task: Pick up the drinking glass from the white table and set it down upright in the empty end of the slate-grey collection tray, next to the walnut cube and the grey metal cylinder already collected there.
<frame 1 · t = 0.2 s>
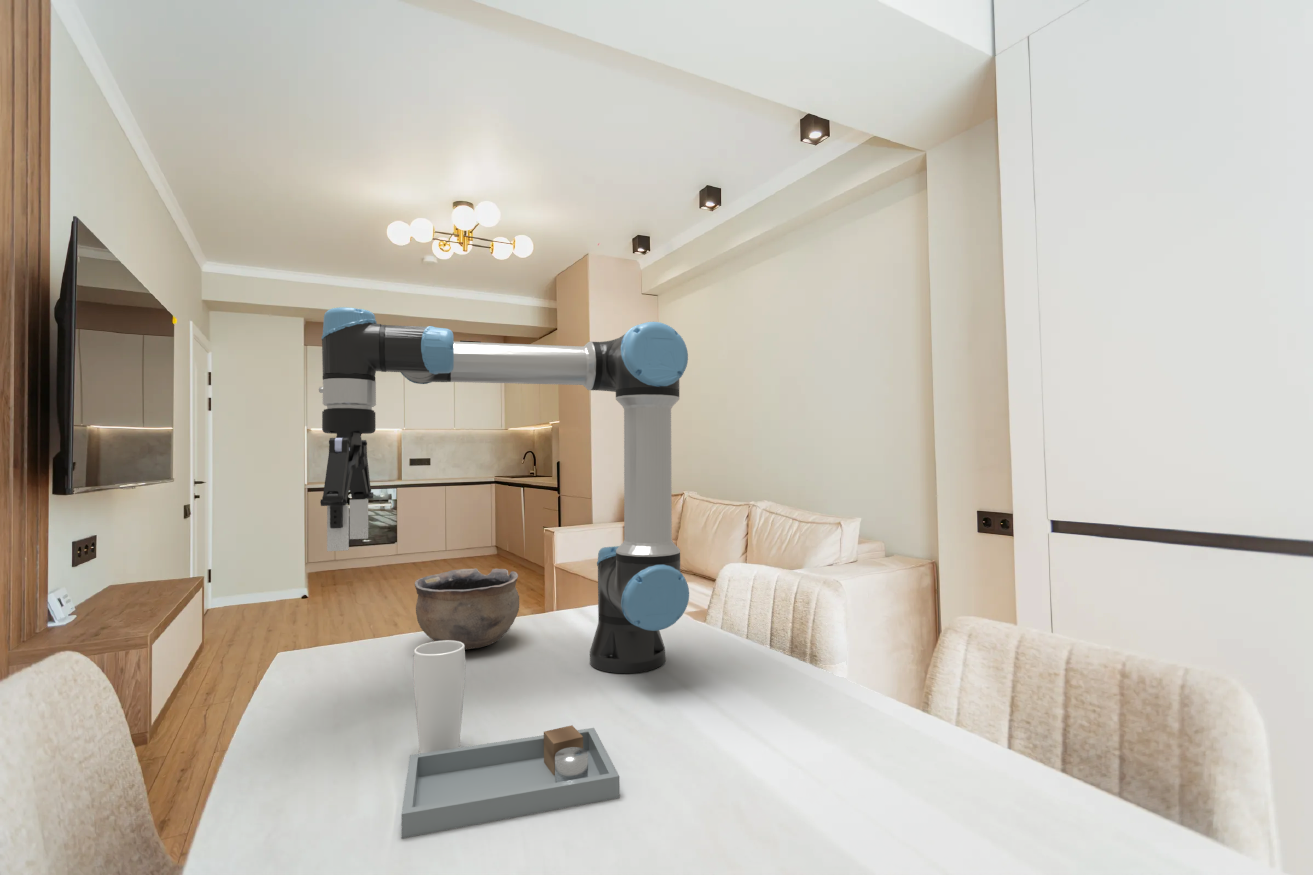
hand: (349, 544, 98), 28 cm above the table, fingers open, 13 cm apart
metal cylinder: (571, 787, 76), point 1 cm above the table, touching collection tray
collection tray: (510, 790, 77), on the table
drinking glass: (439, 758, 86), on the table
walnut cube: (563, 764, 82), point 1 cm above the table, touching collection tray
ceramic bowl: (468, 646, 137), on the table
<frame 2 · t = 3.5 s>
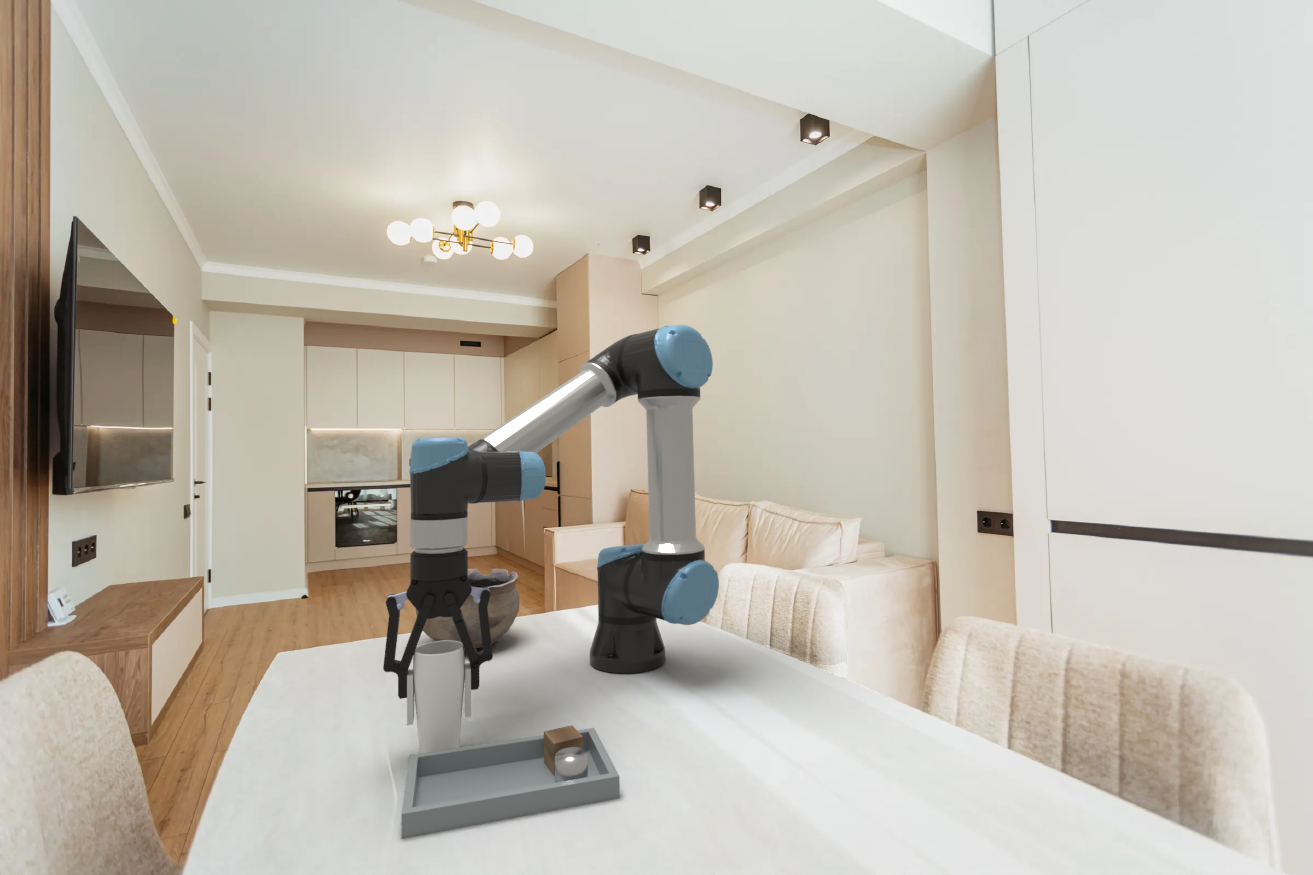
hand: (439, 716, 86), 6 cm above the table, fingers closed on drinking glass, 7 cm apart
drinking glass: (439, 758, 86), on the table, touching gripper
everything else where it was.
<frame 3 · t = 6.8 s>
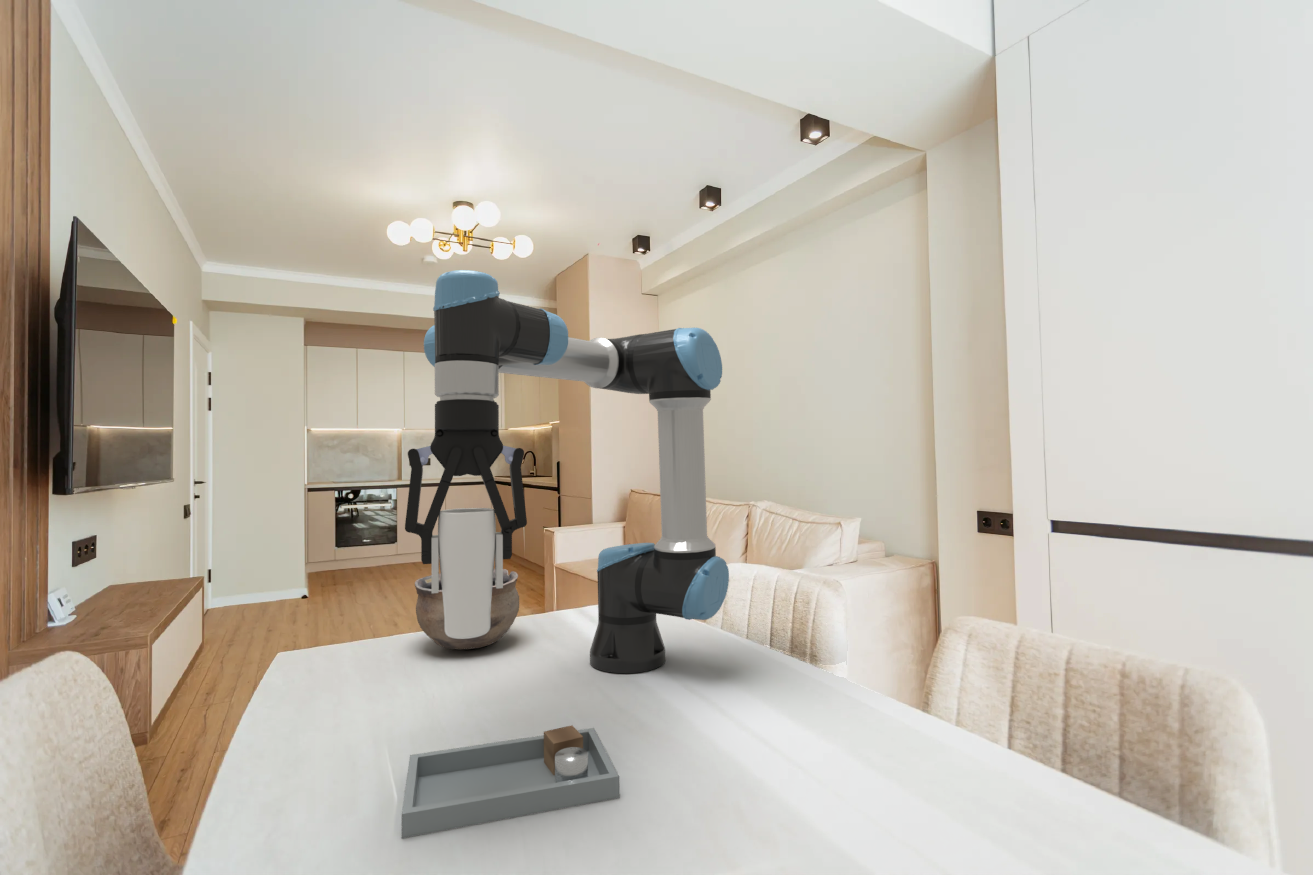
hand: (467, 588, 76), 25 cm above the table, fingers closed on drinking glass, 7 cm apart
drinking glass: (467, 635, 76), point 19 cm above the table, touching gripper
everything else where it was.
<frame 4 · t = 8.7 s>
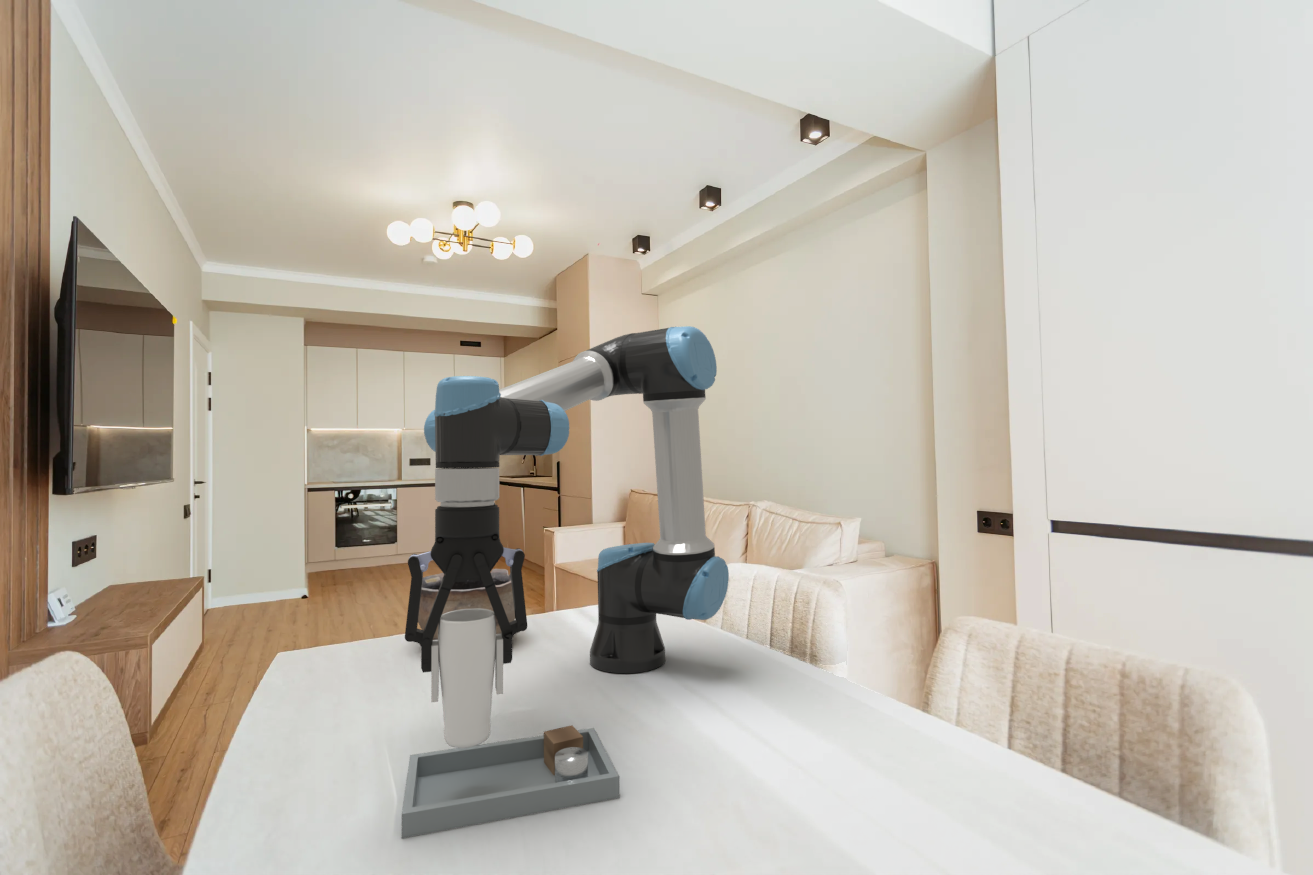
hand: (467, 693, 76), 12 cm above the table, fingers closed on drinking glass, 7 cm apart
drinking glass: (467, 741, 76), point 7 cm above the table, touching gripper
everything else where it was.
when the fingers open (7 cm above the table, at t = 10.3 s): drinking glass stays where it is, resting on collection tray.
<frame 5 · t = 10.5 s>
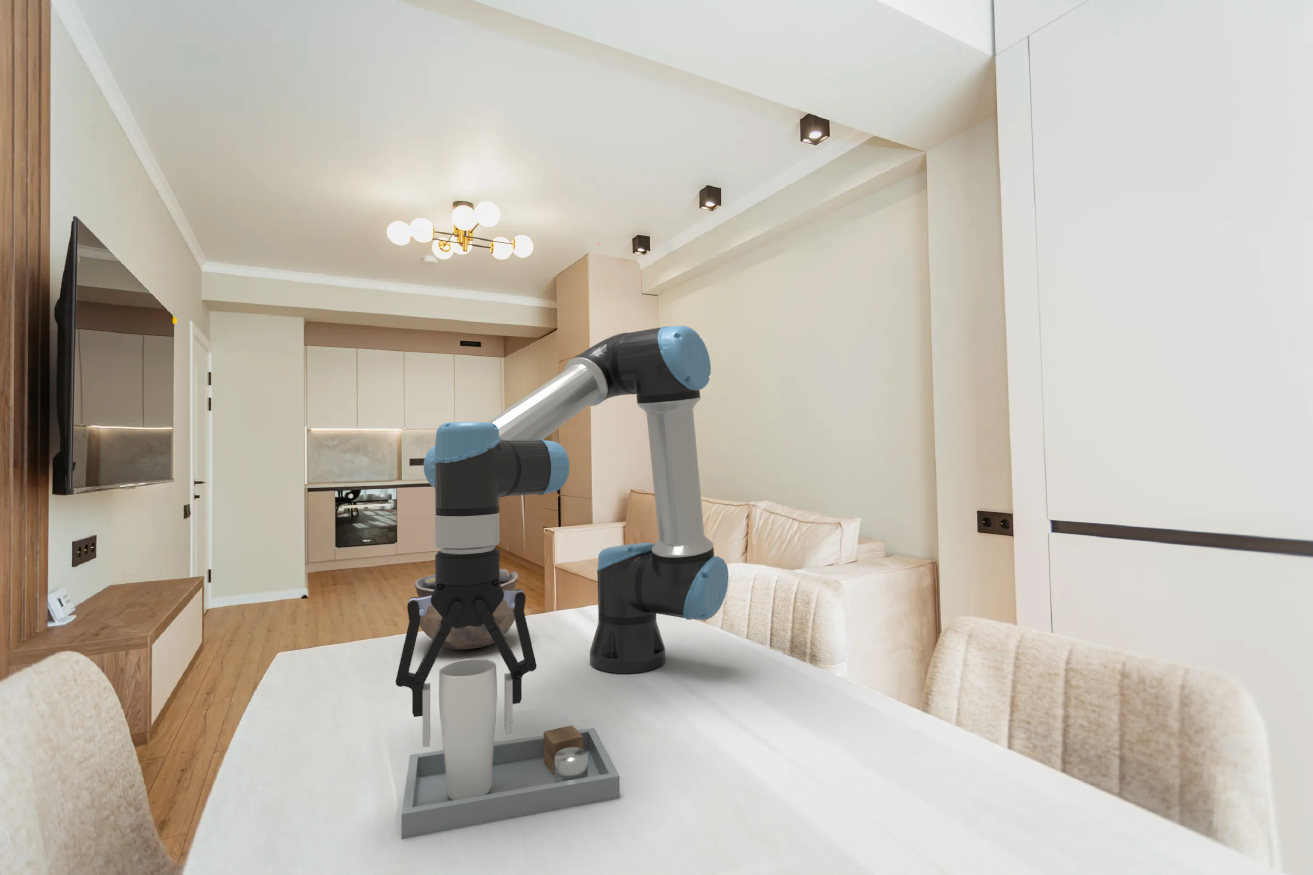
hand: (468, 735, 76), 7 cm above the table, fingers open, 9 cm apart
drinking glass: (469, 793, 76), resting on collection tray
everything else where it was.
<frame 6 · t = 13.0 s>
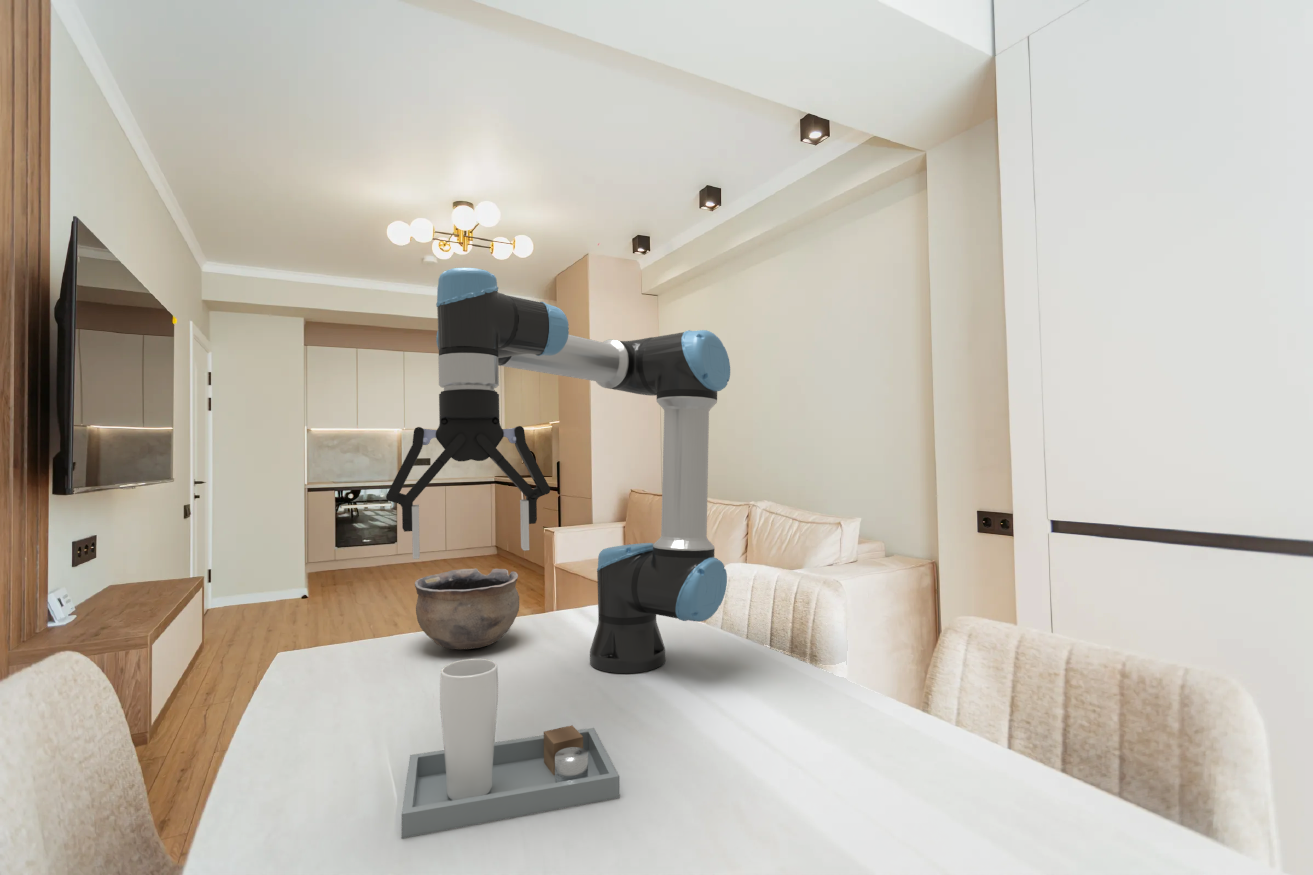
hand: (472, 553, 81), 29 cm above the table, fingers open, 13 cm apart
nothing on the table moved.
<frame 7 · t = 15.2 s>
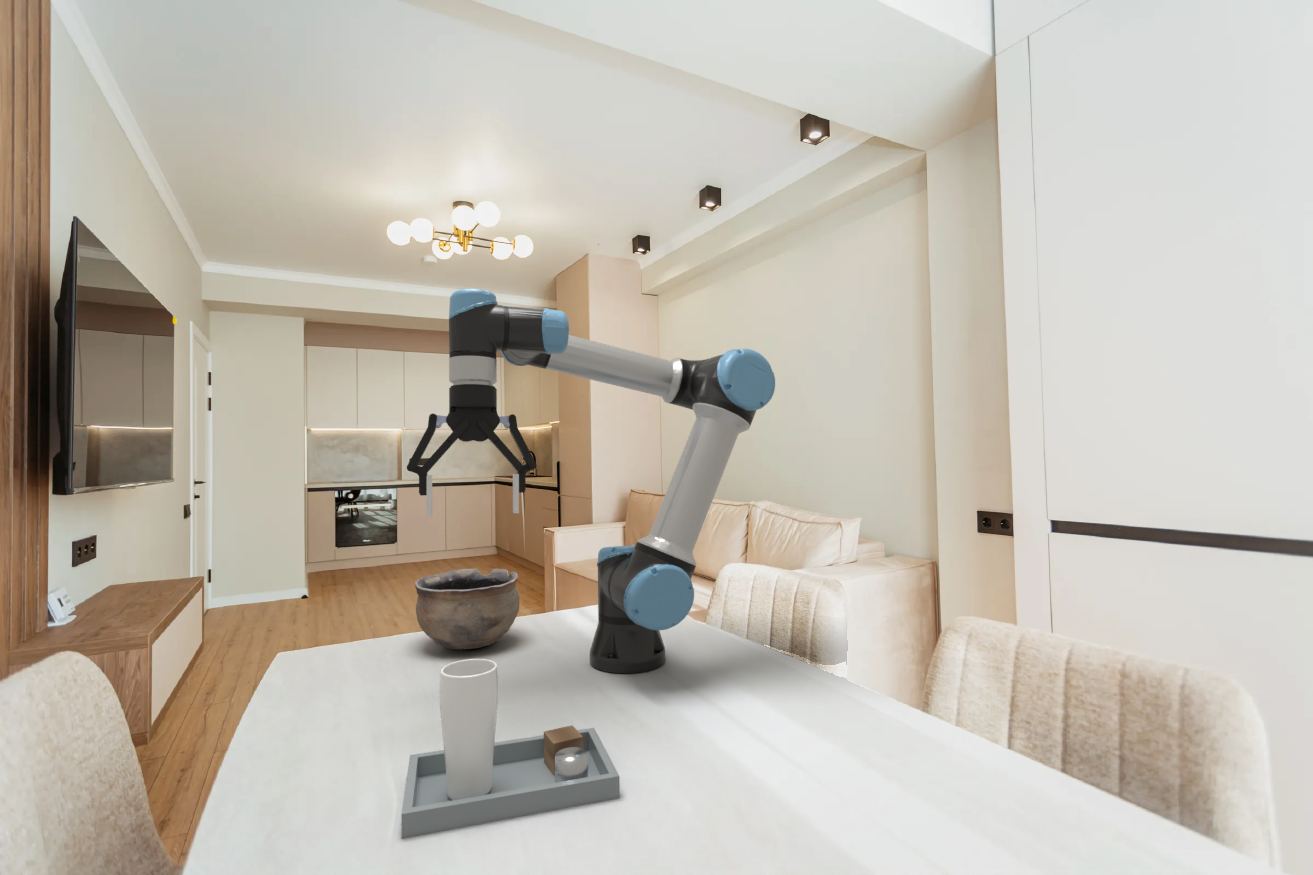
hand: (473, 514, 103), 32 cm above the table, fingers open, 13 cm apart
nothing on the table moved.
at the end: drinking glass inside the target area on the collection tray (4.9 cm from its centre), point 0.4 cm above the collection tray's base; drinking glass tilted 0°; the gripper is holding nothing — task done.
